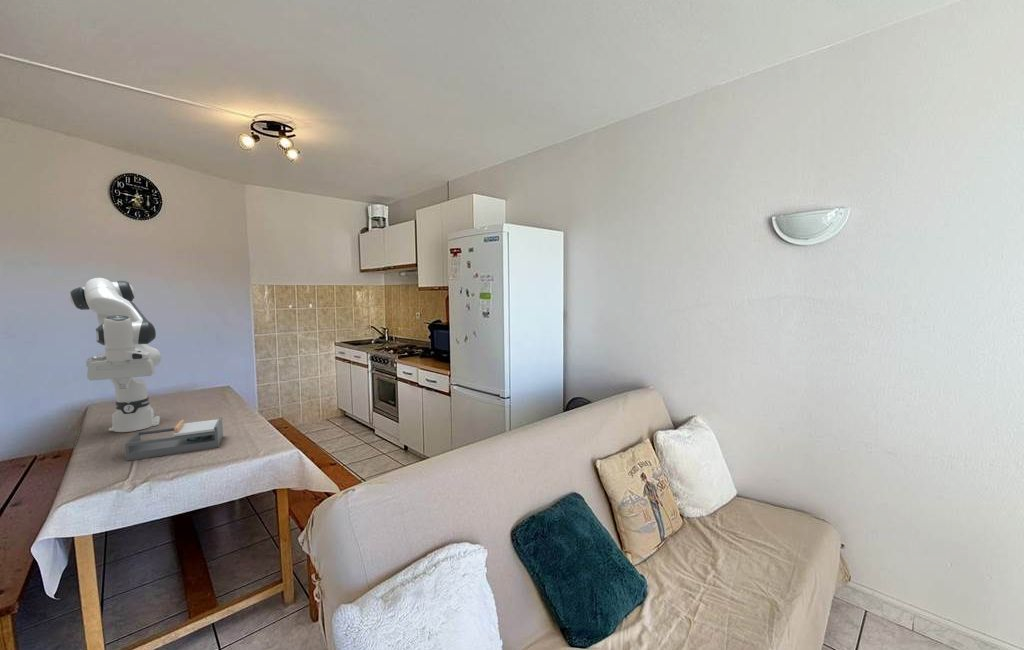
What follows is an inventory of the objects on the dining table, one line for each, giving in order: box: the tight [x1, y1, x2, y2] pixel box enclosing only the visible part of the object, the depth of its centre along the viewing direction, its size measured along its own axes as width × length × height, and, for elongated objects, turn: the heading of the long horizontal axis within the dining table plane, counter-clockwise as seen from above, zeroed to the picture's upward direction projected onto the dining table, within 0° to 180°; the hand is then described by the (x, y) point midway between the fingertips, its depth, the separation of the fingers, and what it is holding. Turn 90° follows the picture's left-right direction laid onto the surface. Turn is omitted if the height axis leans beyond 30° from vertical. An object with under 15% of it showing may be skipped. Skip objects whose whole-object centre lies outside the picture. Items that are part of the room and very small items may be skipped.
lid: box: [173, 418, 219, 437], centre depth 179 cm, size 15×14×3 cm
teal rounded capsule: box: [189, 433, 199, 441], centre depth 179 cm, size 4×4×6 cm
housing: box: [124, 417, 224, 462], centre depth 176 cm, size 15×30×9 cm, turn 119°
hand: (123, 388), depth 169 cm, fingers closed
